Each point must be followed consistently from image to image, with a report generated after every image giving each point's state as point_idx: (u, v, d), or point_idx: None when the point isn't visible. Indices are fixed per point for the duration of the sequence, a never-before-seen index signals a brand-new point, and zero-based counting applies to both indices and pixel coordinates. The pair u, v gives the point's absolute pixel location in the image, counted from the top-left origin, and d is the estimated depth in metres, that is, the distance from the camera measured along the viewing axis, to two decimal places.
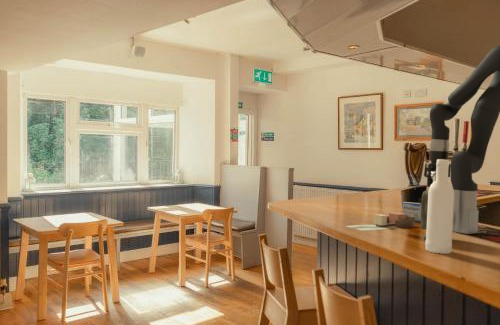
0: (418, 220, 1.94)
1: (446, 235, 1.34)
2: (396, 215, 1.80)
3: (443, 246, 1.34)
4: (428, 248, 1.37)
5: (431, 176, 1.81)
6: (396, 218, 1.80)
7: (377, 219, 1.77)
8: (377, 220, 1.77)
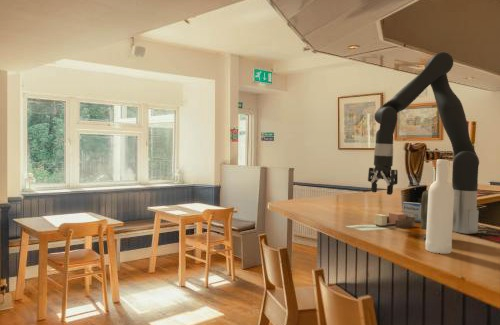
0: (418, 220, 1.94)
1: (446, 235, 1.34)
2: (396, 215, 1.80)
3: (443, 246, 1.34)
4: (428, 248, 1.37)
5: None
6: (396, 218, 1.80)
7: (377, 219, 1.77)
8: (377, 220, 1.77)
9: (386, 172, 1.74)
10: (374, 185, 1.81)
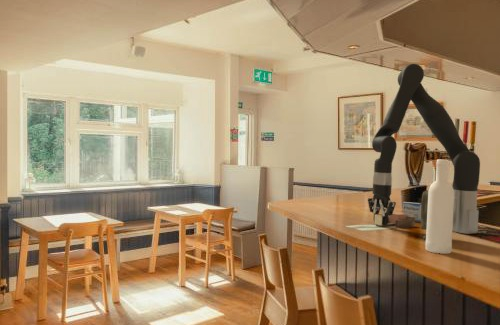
0: (418, 220, 1.94)
1: (446, 235, 1.34)
2: (396, 215, 1.80)
3: (443, 246, 1.34)
4: (428, 248, 1.37)
5: None
6: (396, 218, 1.80)
7: (377, 219, 1.77)
8: (377, 220, 1.77)
9: (384, 203, 1.74)
10: None
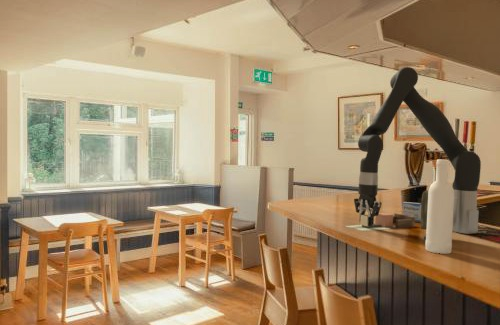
0: (418, 220, 1.94)
1: (446, 235, 1.34)
2: (383, 216, 1.76)
3: (443, 246, 1.34)
4: (428, 248, 1.37)
5: None
6: (383, 219, 1.76)
7: (363, 220, 1.74)
8: (363, 221, 1.74)
9: (370, 203, 1.71)
10: None
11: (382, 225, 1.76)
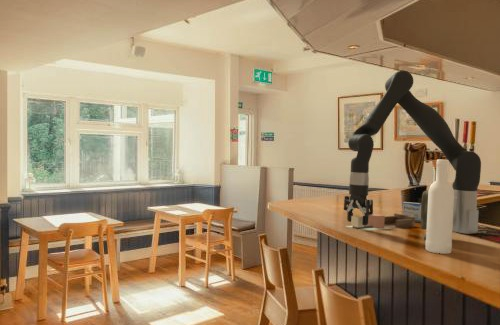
0: (418, 220, 1.94)
1: (446, 235, 1.34)
2: (374, 216, 1.74)
3: (443, 246, 1.34)
4: (428, 248, 1.37)
5: None
6: (374, 220, 1.74)
7: (354, 221, 1.71)
8: (354, 222, 1.71)
9: (361, 202, 1.68)
10: (350, 214, 1.75)
11: (373, 226, 1.74)
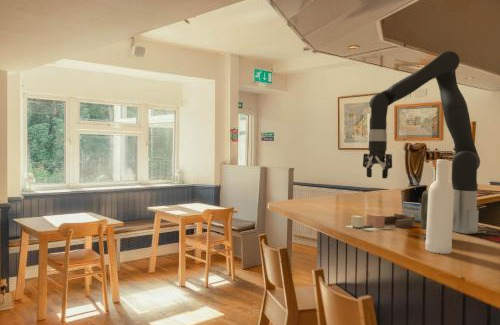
0: (418, 220, 1.94)
1: (446, 235, 1.34)
2: (374, 216, 1.74)
3: (443, 246, 1.34)
4: (428, 248, 1.37)
5: None
6: (374, 220, 1.74)
7: (354, 221, 1.71)
8: (354, 222, 1.71)
9: (381, 157, 1.80)
10: (369, 170, 1.86)
11: (373, 226, 1.74)
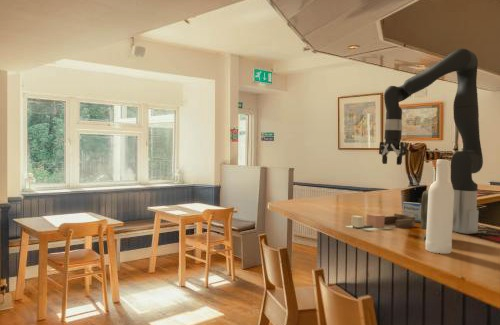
0: (418, 220, 1.94)
1: (446, 235, 1.34)
2: (374, 216, 1.74)
3: (443, 246, 1.34)
4: (428, 248, 1.37)
5: None
6: (374, 220, 1.74)
7: (354, 221, 1.71)
8: (354, 222, 1.71)
9: (396, 144, 1.94)
10: (385, 157, 2.01)
11: (373, 226, 1.74)
